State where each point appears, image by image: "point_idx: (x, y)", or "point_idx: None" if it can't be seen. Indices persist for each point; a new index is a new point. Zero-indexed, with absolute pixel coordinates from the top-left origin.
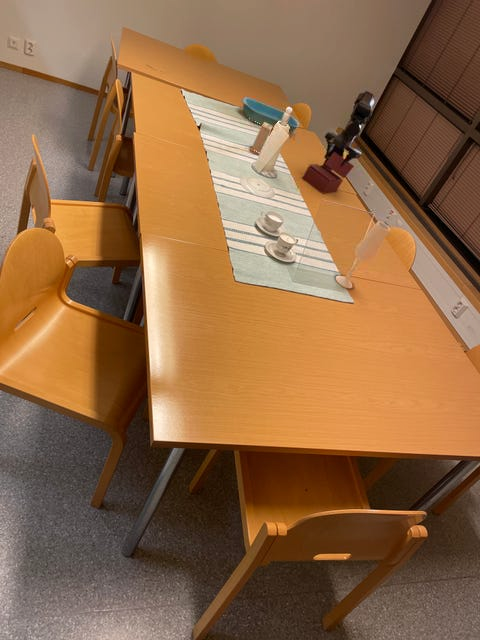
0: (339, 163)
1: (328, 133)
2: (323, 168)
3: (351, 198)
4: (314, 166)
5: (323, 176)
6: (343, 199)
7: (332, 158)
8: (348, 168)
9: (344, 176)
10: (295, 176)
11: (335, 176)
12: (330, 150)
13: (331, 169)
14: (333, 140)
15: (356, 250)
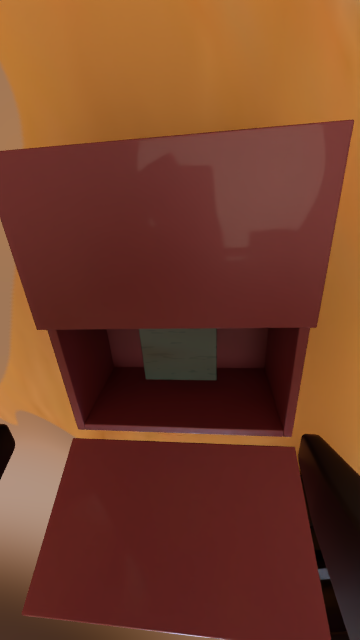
0: (178, 539)
1: None
2: (271, 415)
3: (49, 409)
4: (287, 189)
5: None
6: (23, 331)
7: (279, 546)
8: (68, 545)
9: (74, 453)
10: (337, 45)
11: (145, 415)
12: (357, 616)
13: None
14: None
15: None
